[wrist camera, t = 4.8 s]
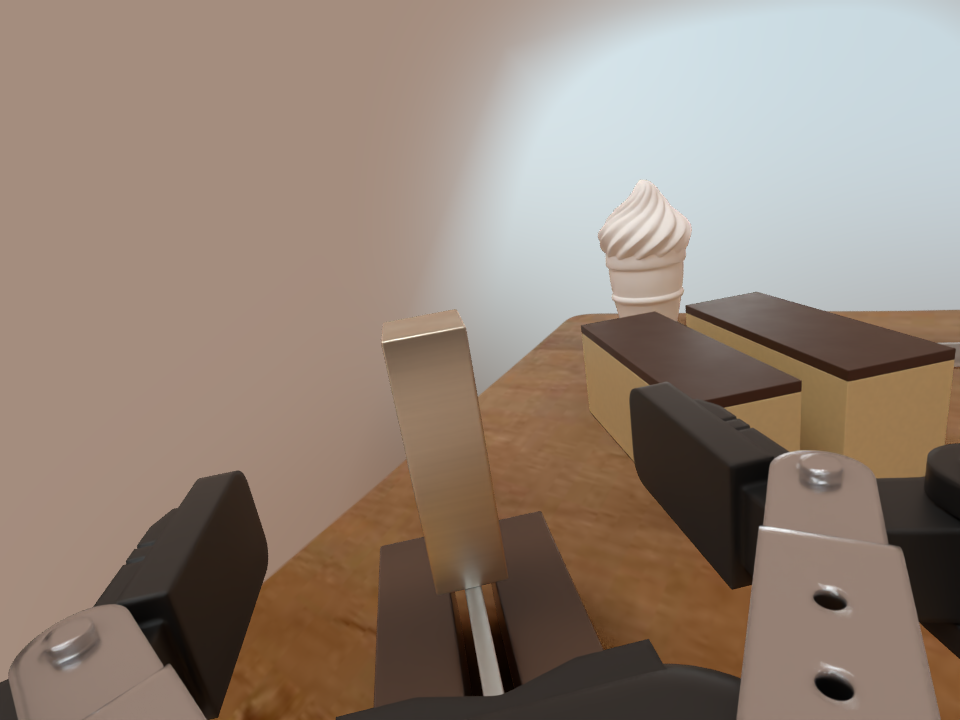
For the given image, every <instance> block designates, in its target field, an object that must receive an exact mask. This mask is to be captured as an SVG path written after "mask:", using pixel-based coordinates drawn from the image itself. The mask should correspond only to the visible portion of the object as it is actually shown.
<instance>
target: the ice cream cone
mask: <svg viewBox="0 0 960 720" xmlns="http://www.w3.org/2000/svg"><path fill="white" fill-rule="evenodd" d="M691 231H692V229H691V224H690V223H689V221H688V220H687V218H685V217H684V216H683V215H682V214H680V213H679V212H678V211H677V210H676V209H674V208H673V207H672V206H670V204H669V202H668V201H667V199H666V198H665V197H664V196H663V195H662V194H661V193H660V191H659V190H658V188H657V187H656V186H655V185H654V184H652V183H651V182H649V181H647V180H639V181H638V183H637V184H636V186H635V188H634V190H633V192H632V193H631V194H630V196H629V197H628V198H627V199H626V200H625V202H623V203H622V204H621V205H620V206H619V207H617V208H616V209H615V210H614V211H613V213H612V214H611V215H610V216H609V217H608V218H607V220H606V222H605V224H604V226H603V227H602V228H601V229H600V231H599V233H598V238H599V240H600V247H601V249H602V251H603V252H604V253H606V266H607V267H608V268H609V275H610V282H611V286H612V291H613V294H612V299H613V300H614V301H615V304H616V308H617V311H618V315H619V318H622V317H628V316H633V315H638V314H643V313H648V312H654V311H655V312H657V313H660V314H662V315H664V316H666V317H668V318H670V319H672V320H674V321H677V319H678V313H679V307H680V301H681V296H682V295H683V292H684V289H683V287H682V283H683V260H684V259H685V257H686V252H685V249H686V247H687V245H688V243H689V239H690V236H691Z"/></svg>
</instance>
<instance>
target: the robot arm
mask: <svg viewBox="0 0 960 720" xmlns="http://www.w3.org/2000/svg"><path fill="white" fill-rule="evenodd" d="M629 405H630V418H631V431H632V445H633V457H634V463H635V467H636V470H637V473H638V476H639V478H640V480H641V482H642V483H643V485H644V486H645V487H646V489H647V490H648V491H649V492H650V493H651V494H652V496H653V497H654V498H655V499H656V500H657V502H658V503H659V504H660V505H661V506H662V507H663V509H664V510H665V511H666V512H667V513H668V515H669V516H670V517H671V518H672V519H673V520H674V522H675V523H676V524H677V525H678V526H679V528H680V529H681V530H682V531H683V532H684V534H685V535H686V536H687V537H688V538H689V539H690V541H691V542H692V543H693V544H694V545H695V547H696V548H697V549H698V550H699V551H700V552H701V554H702V555H703V556H704V557H705V558H706V560H707V561H708V562H709V563H710V564H711V565H712V567H713V568H714V569H715V570H716V571H717V573H718V574H719V575H720V576H721V577H722V578H723V580H724V581H725V582H726V583H727V584H728V586H729V587H730V588H731V589H736V588H741V587H745V586H749V585H752V590H751V599H750V607H749V616H748V625H747V633H746V642H745V650H744V659H743V667H742V676H741V679H740V678H738V677H735V676H733V675H730V674H726V673H723V672H719V671H716V670H712V669H707V668H702V667H697V666H691V665H680V664H663V663H662V661H661V660H660V658H659V656H658V654H657V653H656V651H655V649H654V647H653V646H652V644H651V642H650V640H649V639H647V640H643V641H639V642H635V643H631V644H627V645H623V646H619V647H615V648H611V649H607V650H603V651H599V652H595V653H591V654H587V655H583V656H579V657H575V658H573V659H571V660H569V661H567V662H565V663H563V664H561V665H559V666H557V667H556V668H554V669H552V670H550V671H548V672H546V673H544V674H542V675H540V676H538V677H536V678H534V679H532V680H530V681H528V682H526V683H525V684H523V685H521V686H519V687H517V688H515V689H513V690H511V691H509V692H507V693H504V694H501V695H497V696H461V697H415V698H411V699H407V700H403V701H399V702H395V703H391V704H387V705H383V706H379V707H375V708H371V709H367V710H363V711H359V712H355V713H351V714H347V715H343V716H339V717H336V720H941V719H940V714H939V710H938V705H937V701H936V696H935V692H934V687H933V683H932V678H931V674H930V670H929V665H928V661H927V656H926V652H925V647H924V643H923V638H922V634H921V629H920V625H919V622H920V623H921V624H922V625H923V626H924V627H925V628H926V629H927V630H928V631H929V632H930V633H931V634H932V635H934V636H935V637H936V638H937V639H938V640H939V641H940V642H941V643H943V644H944V645H945V646H946V647H947V648H948V649H949V650H950V651H951V652H953V653H954V654H955V655H956V656H957V657H958V658H959V659H960V443H957V444H948V445H943V446H939V447H937V448H934V449H933V450H931V451H930V452H929V453H928V456H927V463H926V472H925V477H909V478H876V477H875V475H874V473H873V472H872V471H871V469H869V468H868V467H867V466H866V465H864V464H863V463H861V462H859V461H857V460H855V459H853V458H850V457H847V456H844V455H841V454H837V453H832V452H826V451H816V450H801V451H793V452H789V451H788V450H786V449H785V448H783V447H782V446H780V445H779V444H777V443H776V442H774V441H773V440H771V439H770V438H768V437H767V436H765V435H764V434H762V433H761V432H759V431H758V430H756V429H755V428H750V425H749V424H747V423H746V422H744V421H743V420H741V419H737V418H736V416H735V415H733V414H732V413H730V412H729V411H727V410H726V409H724V408H723V407H721V406H720V405H716V404H713V403H710V402H707V401H703V400H700V399H692V398H691V397H689V396H688V395H686V394H685V393H683V392H682V391H681V390H679V389H678V388H676V387H675V386H673V385H672V384H671V383H669V382H663V383H658V384H653V385H649V386H644V387H639V388H634V389H632V390H631V392H630V396H629ZM267 566H268V548H267V542H266V538H265V534H264V531H263V528H262V525H261V522H260V519H259V516H258V513H257V510H256V507H255V503H254V500H253V497H252V494H251V491H250V488H249V486H248V482H247V480H246V478H245V476H244V474H243V473H242V472H241V471H233V472H229V473H224V474H218V475H214V476H209V477H204V478H199V479H198V480H197V481H196V482H195V484H194V485H193V487H192V488H191V490H190V491H189V493H188V494H187V496H186V497H185V499H184V500H183V502H182V503H181V504H180V506H179V507H178V508H176V509H172V510H171V511H170V512H169V513H167V514H166V515H165V516H164V517H162V518H161V519H160V520H159V521H157V522H156V523H155V524H154V525H152V526H151V527H150V528H149V530H148V531H147V532H146V534H145V535H144V537H143V538H142V539H141V541H140V542H139V544H138V545H137V549H134V551H133V552H132V553H131V555H130V556H129V558H128V559H127V560H126V565H123V566H122V567H121V569H120V570H119V572H118V573H117V574H116V576H115V577H114V579H113V580H112V581H111V583H110V584H109V586H108V587H107V588H106V590H105V591H104V592H103V594H102V595H101V597H100V598H99V599H98V601H97V602H96V604H95V605H94V607H92V608H89V609H86V610H83V611H81V612H78V613H76V614H73V615H71V616H69V617H67V618H65V619H63V620H61V621H60V622H58V623H56V624H54V625H53V626H51V627H50V628H48V629H47V630H45V631H44V632H42V633H41V634H40V635H38V636H37V637H36V638H34V639H33V640H32V641H31V642H30V643H29V644H28V645H27V646H26V647H25V648H24V649H23V650H22V651H21V652H20V653H19V654H18V656H17V657H16V658H15V660H14V661H13V663H12V665H11V667H10V669H9V673H8V676H9V677H8V679H7V680H5V681H3V682H1V683H0V720H210V719H214V718H218V716H219V713H220V710H221V707H222V704H223V701H224V698H225V695H226V692H227V689H228V686H229V683H230V680H231V677H232V674H233V670H234V667H235V664H236V661H237V658H238V655H239V652H240V649H241V646H242V643H243V640H244V637H245V634H246V631H247V628H248V625H249V622H250V619H251V616H252V613H253V610H254V607H255V604H256V601H257V598H258V595H259V592H260V589H261V586H262V583H263V580H264V577H265V574H266V570H267Z"/></svg>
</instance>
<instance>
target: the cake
mask: <svg viewBox="0 0 960 720" xmlns="http://www.w3.org/2000/svg"><path fill="white" fill-rule="evenodd" d="M581 331H582V341H583V351H584V360H585V370H586V380H587V390H588V400H589V410H590V412H591V413H592V414H593V415H594V417H595V418H596V419H597V420H598V421H599V422H600V423H601V425H602V426H603V427H604V428H605V429H606V430H607V431H608V433H609V434H610V435H611V436H612V437H613V438H614V439H615V441H616V442H617V443H618V444H619V445H620V446H621V447H622V449H623V450H624V451H625V452H626V453H627V454H628V455H629V457H630V458H631V459H632V460H633V461H634V457H633V445H632V431H631V418H630V405H629V396H630V392H631V390H632V389H634V388H639V387H644V386H649V385H653V384H658V383H663V382H669V383H671V384H672V385H673V386H675V387H676V388H678V389H679V390H681V391H682V392H683V393H685V394H686V395H688V396H689V397H691V398H692V399H700V400H703V401H707V402H710V403H713V404H716V405H720V406H721V407H723V408H724V409H726V410H727V411H729V412H730V413H732V414H733V415H735V416H736V418H737V419H741V420H743V421H744V422H746V423H747V424H749V425H750V428H755V429H756V430H758V431H759V432H761V433H762V434H764V435H765V436H767V437H768V438H770V439H771V440H773V441H774V442H776V443H777V444H779V445H780V446H782V447H783V448H785V449H786V450H788V451H789V452H793V451H801V450H816V451H826V452H832V453H837V454H841V455H844V456H847V457H850V458H853V459H855V460H857V461H859V462H861V463H863V464H864V465H866V466H867V467H868V468H869V469H871V471H872V472H873V473H874V475H875V477H876V478H909V477H923V476H925V472H926V463H927V456H928V453H929V452H930V451H931V450H933V449H934V448H937V447H939V446H943V445H945V437H946V428H947V420H948V411H949V403H950V395H951V386H952V378H953V370H954V361H955V360H954V359H955V353H956V348H953V347H949V346H946V345H942V344H939V343H935V342H932V341H928V340H925V339H921V338H918V337H914V336H910V335H907V334H903V333H900V332H896V331H893V330H889V329H886V328H882V327H879V326H875V325H872V324H868V323H865V322H861V321H858V320H854V319H851V318H847V317H844V316H840V315H837V314H833V313H830V312H826V311H822V310H819V309H816V308H812V307H808V306H805V305H801V304H798V303H794V302H790V301H787V300H784V299H780V298H777V297H773V296H770V295H766V294H763V293H759V292H753V293H748V294H743V295H737V296H733V297H727V298H722V299H717V300H711V301H706V302H701V303H696V304H690V305H686V326H685V325H683V324H681V323H679V322H677V321H674V320H672V319H670V318H668V317H666V316H664V315H662V314H660V313H657V312H655V311H654V312H648V313H643V314H638V315H633V316H628V317H622V318H617V319H612V320H607V321H601V322H596V323H591V324H586V325H581Z"/></svg>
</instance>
